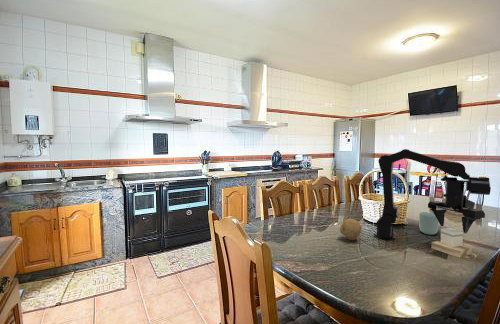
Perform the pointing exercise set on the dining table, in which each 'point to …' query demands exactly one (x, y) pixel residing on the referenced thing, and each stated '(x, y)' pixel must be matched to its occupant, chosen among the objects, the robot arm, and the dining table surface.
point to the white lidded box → (452, 237)
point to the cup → (428, 223)
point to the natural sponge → (350, 229)
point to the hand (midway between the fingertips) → (453, 229)
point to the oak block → (452, 249)
